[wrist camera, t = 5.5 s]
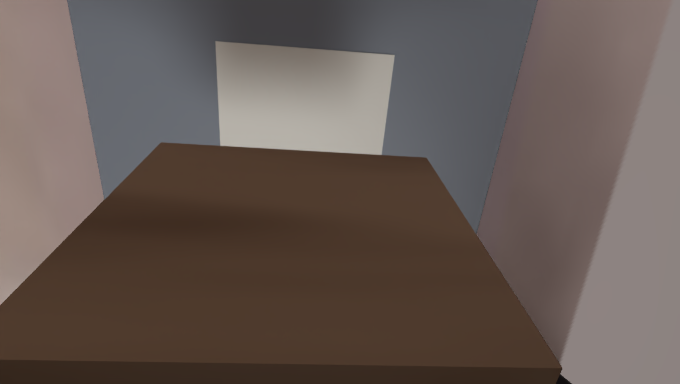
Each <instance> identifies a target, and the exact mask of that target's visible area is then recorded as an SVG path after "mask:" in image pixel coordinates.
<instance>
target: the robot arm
mask: <svg viewBox="0 0 680 384" xmlns="http://www.w3.org/2000/svg"><path fill="white" fill-rule="evenodd" d="M556 384H571V383H570V382H569V381H568V380H567V379H565V378H564V377H563V376H562V375H559V377H558V380H557V382H556Z"/></svg>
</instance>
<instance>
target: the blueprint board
mask: <svg viewBox="0 0 680 384" xmlns="http://www.w3.org/2000/svg"><path fill="white" fill-rule="evenodd" d="M537 1H538V0H67V2H68V7H69V12H70V18H71V23H72V28H73V34H74V39H75V45H76V50H77V55H78V61H79V66H80V71H81V77H82V82H83V87H84V93H85V98H86V104H87V109H88V114H89V120H90V125H91V130H92V136H93V141H94V146H95V152H96V157H97V163H98V168H99V173H100V179H101V184H102V189H103V195H104V200H105V199H106V198H107V197H108V196H109V195H110V194H111V193H112V191H113V190H114V189H115V188H116V187H117V186H118V185H119V184H120V183H121V182H122V181H123V180H124V179H125V178H126V177H127V176H128V175H129V174H130V173H131V172H132V171H133V170H134V169H135V168H136V167H137V166H138V165H139V164H140V163H141V162H142V161H143V160H144V159H145V158H146V157H147V156H148V155H149V154H150V153H151V152H152V151H153V150H154V149H155V148H156V147H157V146H158V145H159V144H160V143H161V142H163V143H181V144H198V145H216V146H233V147H251V148H268V149H286V150H303V151H321V152H338V153H356V154H373V155H391V156H408V157H426V158H427V159H428V161H429V162H430V164H431V165H432V167H433V168H434V170H435V171H436V173H437V174H438V176H439V178H440V179H441V181H442V182H443V184H444V185H445V187H446V188H447V190H448V192H449V193H450V195H451V196H452V198H453V199H454V201H455V202H456V204H457V205H458V207H459V209H460V210H461V212H462V213H463V215H464V216H465V218H466V219H467V221H468V223H469V224H470V226H471V227H472V229H473V230H474V232H475V233H476V234H477V230H478V226H479V222H480V218H481V215H482V211H483V207H484V203H485V199H486V196H487V192H488V188H489V184H490V180H491V176H492V173H493V169H494V165H495V161H496V157H497V154H498V150H499V146H500V142H501V138H502V134H503V131H504V127H505V123H506V119H507V115H508V112H509V108H510V104H511V100H512V96H513V92H514V89H515V85H516V81H517V77H518V73H519V70H520V66H521V62H522V58H523V54H524V50H525V47H526V43H527V39H528V35H529V31H530V28H531V24H532V20H533V16H534V12H535V8H536V5H537Z"/></svg>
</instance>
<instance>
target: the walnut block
mask: <svg viewBox="0 0 680 384" xmlns="http://www.w3.org/2000/svg"><path fill="white" fill-rule="evenodd" d="M561 370H562V367H561V365H560V364H559V362H558V360H557V359H556V357H555V356H554V354H553V353H552V351H551V350H550V348H549V347H548V345H547V343H546V342H545V340H544V339H543V337H542V336H541V334H540V333H539V331H538V329H537V328H536V326H535V325H534V323H533V322H532V320H531V319H530V317H529V316H528V314H527V312H526V311H525V309H524V308H523V306H522V305H521V303H520V302H519V300H518V298H517V297H516V295H515V294H514V292H513V291H512V289H511V288H510V286H509V285H508V283H507V281H506V280H505V278H504V277H503V275H502V274H501V272H500V271H499V269H498V267H497V266H496V264H495V263H494V261H493V260H492V258H491V257H490V255H489V254H488V252H487V250H486V249H485V247H484V246H483V244H482V243H481V241H480V240H479V238H478V236H477V235H476V233H475V232H474V230H473V229H472V227H471V226H470V224H469V223H468V221H467V219H466V218H465V216H464V215H463V213H462V212H461V210H460V209H459V207H458V205H457V204H456V202H455V201H454V199H453V198H452V196H451V195H450V193H449V192H448V190H447V188H446V187H445V185H444V184H443V182H442V181H441V179H440V178H439V176H438V174H437V173H436V171H435V170H434V168H433V167H432V165H431V164H430V162H429V161H428V159H427V158H426V157H408V156H391V155H373V154H356V153H338V152H321V151H303V150H286V149H268V148H251V147H233V146H216V145H198V144H181V143H163V142H161V143H160V144H159V145H158V146H157V147H156V148H155V149H154V150H153V151H152V152H151V153H150V154H149V155H148V156H147V157H146V158H145V159H144V160H143V161H142V162H141V163H140V164H139V165H138V166H137V167H136V168H135V169H134V170H133V171H132V172H131V173H130V174H129V175H128V176H127V177H126V178H125V179H124V180H123V181H122V182H121V183H120V184H119V185H118V186H117V187H116V188H115V189H114V190H113V191H112V193H111V194H110V195H109V196H108V197H107V198H106V199H105V200H104V201H103V202H102V203H101V204H100V205H99V206H98V207H97V208H96V209H95V210H94V211H93V212H92V213H91V214H90V215H89V216H88V217H87V218H86V219H85V220H84V221H83V222H82V223H81V224H80V225H79V226H78V227H77V228H76V229H75V230H74V231H73V232H72V233H71V234H70V235H69V236H68V237H67V238H66V239H65V240H64V241H63V242H62V243H61V244H60V245H59V246H58V247H57V248H56V249H55V250H54V251H53V252H52V253H51V254H50V255H49V256H48V257H47V258H46V259H45V260H44V262H43V263H42V264H41V265H40V266H39V267H38V268H37V269H36V270H35V271H34V272H33V273H32V274H31V275H30V276H29V277H28V278H27V279H26V280H25V281H24V282H23V283H22V284H21V285H20V286H19V287H18V288H17V289H16V290H15V291H14V292H13V293H12V294H11V295H10V296H9V297H8V298H7V299H6V300H5V301H4V302H3V303H2V304H1V305H0V384H556V382H557V380H558V377H559V375H560V373H561Z"/></svg>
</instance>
